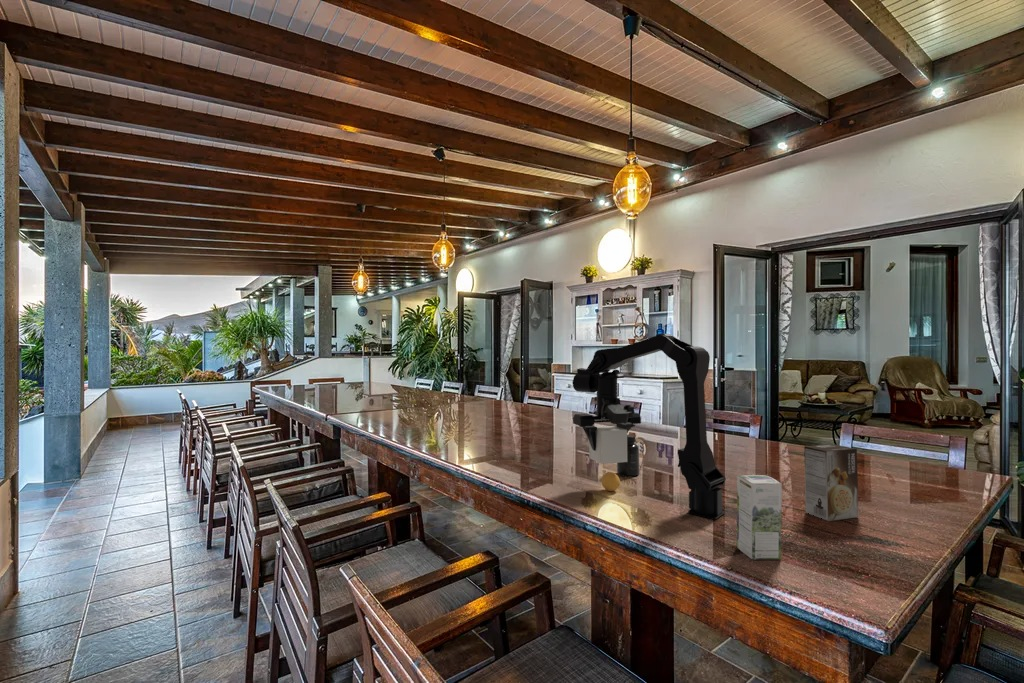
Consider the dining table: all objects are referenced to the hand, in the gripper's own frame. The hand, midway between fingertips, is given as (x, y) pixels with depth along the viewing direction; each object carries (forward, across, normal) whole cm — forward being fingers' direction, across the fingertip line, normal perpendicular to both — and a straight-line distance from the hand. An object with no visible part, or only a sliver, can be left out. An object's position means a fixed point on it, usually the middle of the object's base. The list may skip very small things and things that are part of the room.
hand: (607, 449), depth 135 cm
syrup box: (+11, +7, -47) cm, 49 cm away
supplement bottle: (+11, +14, +12) cm, 22 cm away
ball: (+8, 0, -2) cm, 9 cm away
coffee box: (+11, +40, -35) cm, 54 cm away
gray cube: (+3, 0, 0) cm, 3 cm away
